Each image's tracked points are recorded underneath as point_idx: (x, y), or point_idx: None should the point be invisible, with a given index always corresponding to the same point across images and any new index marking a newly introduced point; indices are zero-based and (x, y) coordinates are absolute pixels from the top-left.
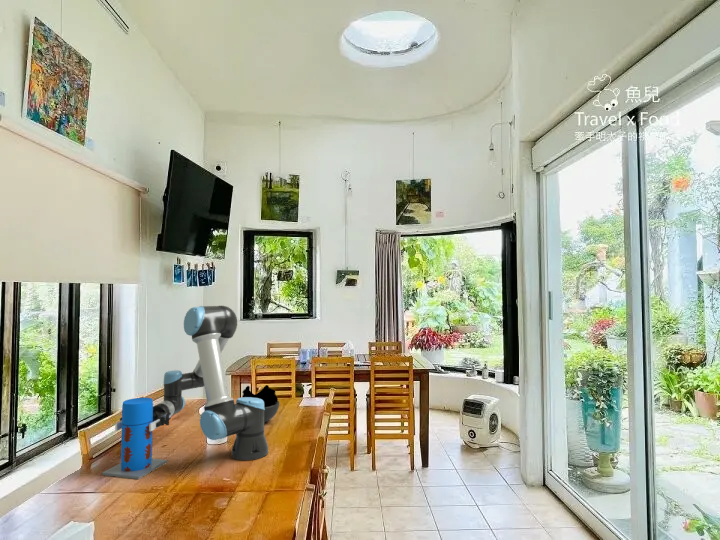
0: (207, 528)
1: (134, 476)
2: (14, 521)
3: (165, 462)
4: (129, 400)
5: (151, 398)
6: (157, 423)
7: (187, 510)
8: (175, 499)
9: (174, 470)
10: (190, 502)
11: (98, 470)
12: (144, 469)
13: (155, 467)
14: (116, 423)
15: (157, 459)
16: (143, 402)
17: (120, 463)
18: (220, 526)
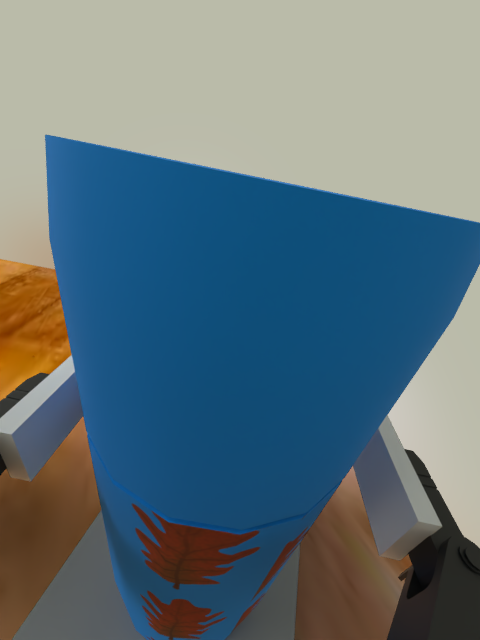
0: (38, 271)
1: None
2: None
3: (26, 622)
4: (400, 206)
5: (59, 138)
6: (48, 375)
7: (52, 300)
8: (65, 327)
9: (9, 496)
10: (37, 314)
11: (355, 550)
12: None
13: (98, 515)
14: None
15: None
16: (175, 160)
17: (295, 605)
18: (18, 270)
